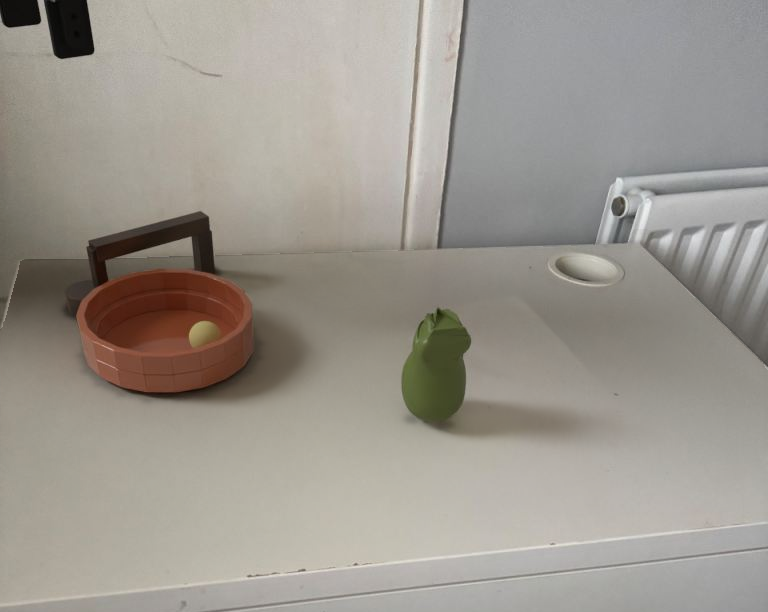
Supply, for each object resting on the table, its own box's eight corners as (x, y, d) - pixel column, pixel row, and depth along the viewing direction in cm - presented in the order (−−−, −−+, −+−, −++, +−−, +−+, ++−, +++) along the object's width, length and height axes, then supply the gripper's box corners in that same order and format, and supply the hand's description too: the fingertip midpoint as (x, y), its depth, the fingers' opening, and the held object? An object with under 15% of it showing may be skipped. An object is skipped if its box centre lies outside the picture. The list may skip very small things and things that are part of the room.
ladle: (80, 322, 81) (67, 261, 76) (61, 305, 83) (48, 244, 78) (221, 278, 89) (217, 220, 84) (201, 263, 91) (196, 206, 86)
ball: (181, 331, 77) (207, 349, 79) (182, 347, 75) (208, 366, 77) (202, 308, 76) (227, 327, 78) (203, 325, 74) (230, 344, 76)
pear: (447, 393, 76) (461, 294, 69) (471, 427, 73) (488, 327, 66) (390, 402, 74) (399, 302, 68) (412, 438, 71) (423, 336, 64)
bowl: (56, 337, 78) (47, 297, 76) (198, 292, 86) (194, 254, 83) (137, 418, 70) (130, 377, 68) (286, 360, 78) (285, 320, 75)
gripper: (-107, -251, 60) (-39, 19, 71) (-9, -229, 51) (50, 76, 62) (-3, -246, 63) (45, 10, 75) (106, -225, 54) (141, 62, 66)
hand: (47, 40), depth 69 cm, fingers open, 9 cm apart
